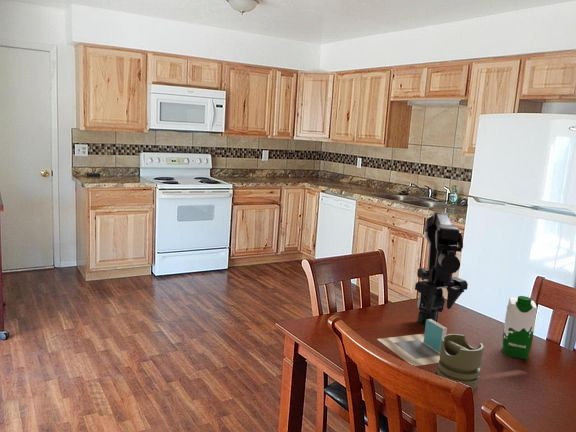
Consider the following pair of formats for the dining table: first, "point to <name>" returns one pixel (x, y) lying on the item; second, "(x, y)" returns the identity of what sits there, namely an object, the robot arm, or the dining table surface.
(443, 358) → the piston
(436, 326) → the tile
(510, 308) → the milk carton
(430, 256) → the robot arm
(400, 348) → the board
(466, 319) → the dining table surface
